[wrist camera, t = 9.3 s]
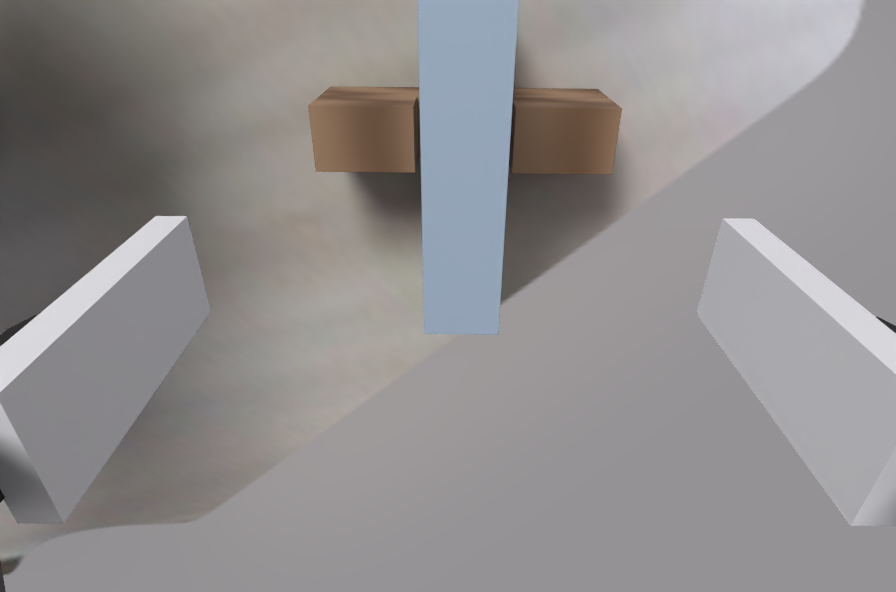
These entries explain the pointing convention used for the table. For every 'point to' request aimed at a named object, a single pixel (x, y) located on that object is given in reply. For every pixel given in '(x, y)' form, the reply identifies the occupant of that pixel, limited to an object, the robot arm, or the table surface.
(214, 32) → the table surface
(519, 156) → the walnut u-shaped block
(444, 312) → the pale blue upright slab
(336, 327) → the table surface
